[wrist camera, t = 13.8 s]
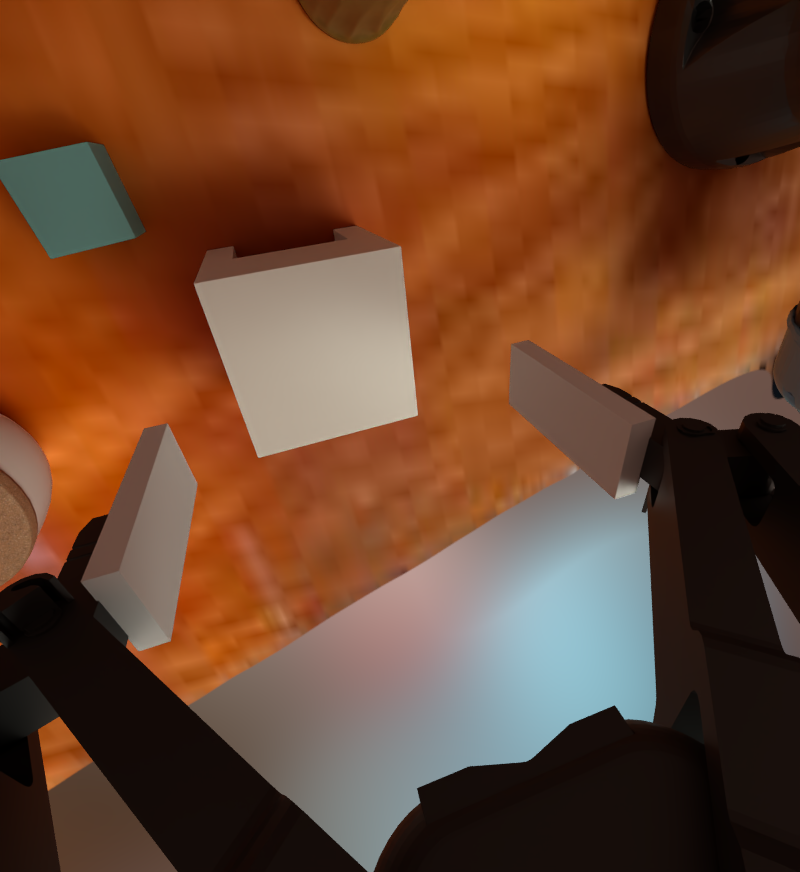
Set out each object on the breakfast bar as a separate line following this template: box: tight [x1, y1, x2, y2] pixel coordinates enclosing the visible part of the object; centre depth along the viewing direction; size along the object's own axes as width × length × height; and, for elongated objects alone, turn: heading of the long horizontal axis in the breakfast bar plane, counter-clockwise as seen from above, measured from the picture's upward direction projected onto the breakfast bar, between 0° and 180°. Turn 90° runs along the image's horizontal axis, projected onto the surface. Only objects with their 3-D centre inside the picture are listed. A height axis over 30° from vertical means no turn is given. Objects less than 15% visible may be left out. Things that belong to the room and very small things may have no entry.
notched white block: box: [194, 226, 418, 458], centre depth 24 cm, size 9×9×9 cm
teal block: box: [0, 142, 146, 259], centre depth 21 cm, size 4×4×3 cm
